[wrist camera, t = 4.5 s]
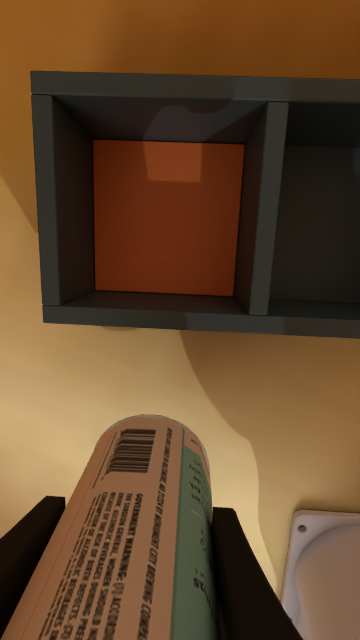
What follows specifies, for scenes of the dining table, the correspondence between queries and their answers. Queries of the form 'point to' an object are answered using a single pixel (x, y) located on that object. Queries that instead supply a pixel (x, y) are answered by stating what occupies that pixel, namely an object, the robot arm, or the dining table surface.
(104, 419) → the dining table surface
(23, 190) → the dining table surface
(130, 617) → the beer can
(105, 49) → the dining table surface
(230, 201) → the organizer
